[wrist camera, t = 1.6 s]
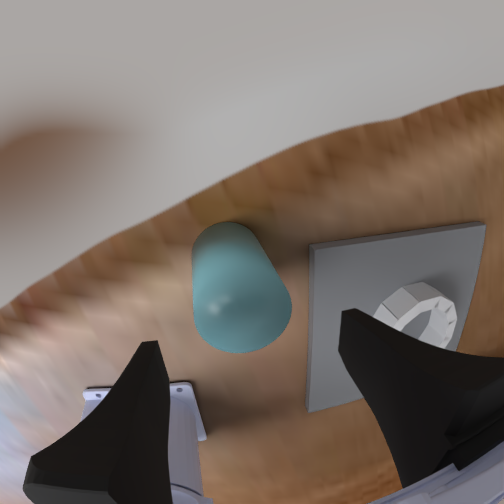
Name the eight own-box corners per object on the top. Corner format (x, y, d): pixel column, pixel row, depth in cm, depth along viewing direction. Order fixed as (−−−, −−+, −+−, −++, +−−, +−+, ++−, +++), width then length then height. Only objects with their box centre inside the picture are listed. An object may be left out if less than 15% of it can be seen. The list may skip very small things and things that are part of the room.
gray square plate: (305, 405, 27) (316, 433, 24) (309, 244, 21) (329, 265, 18) (445, 359, 30) (463, 378, 27) (479, 221, 24) (506, 234, 21)
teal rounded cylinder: (197, 290, 21) (202, 359, 15) (187, 227, 19) (186, 277, 13) (262, 281, 22) (292, 344, 15) (258, 217, 20) (290, 262, 14)
